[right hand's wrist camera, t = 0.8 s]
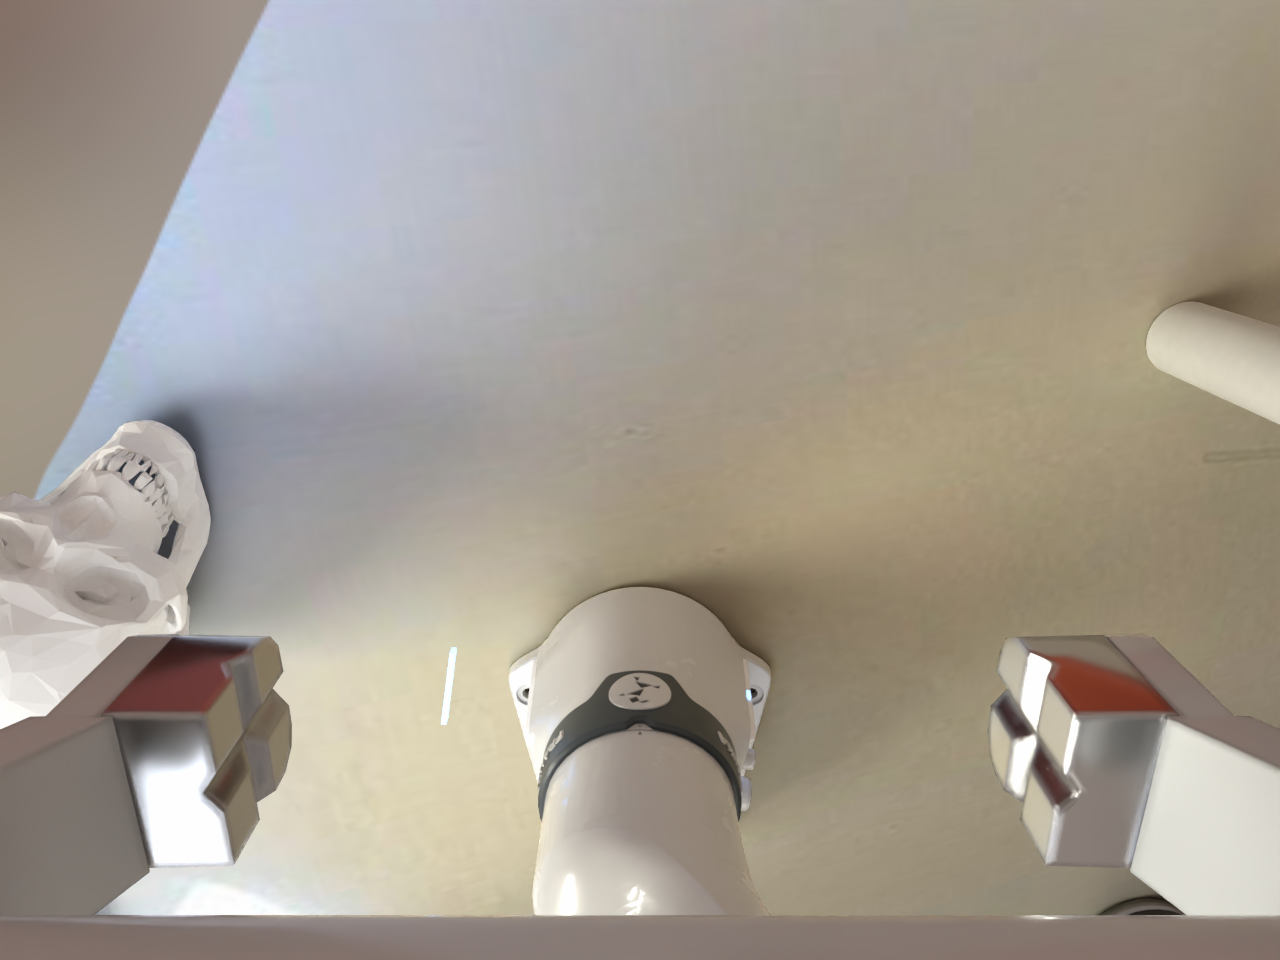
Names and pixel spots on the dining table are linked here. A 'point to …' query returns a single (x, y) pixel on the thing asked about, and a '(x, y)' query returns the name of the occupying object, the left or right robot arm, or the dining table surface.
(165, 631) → the skull
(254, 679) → the right robot arm
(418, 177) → the dining table surface
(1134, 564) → the dining table surface
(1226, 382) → the white bottle
